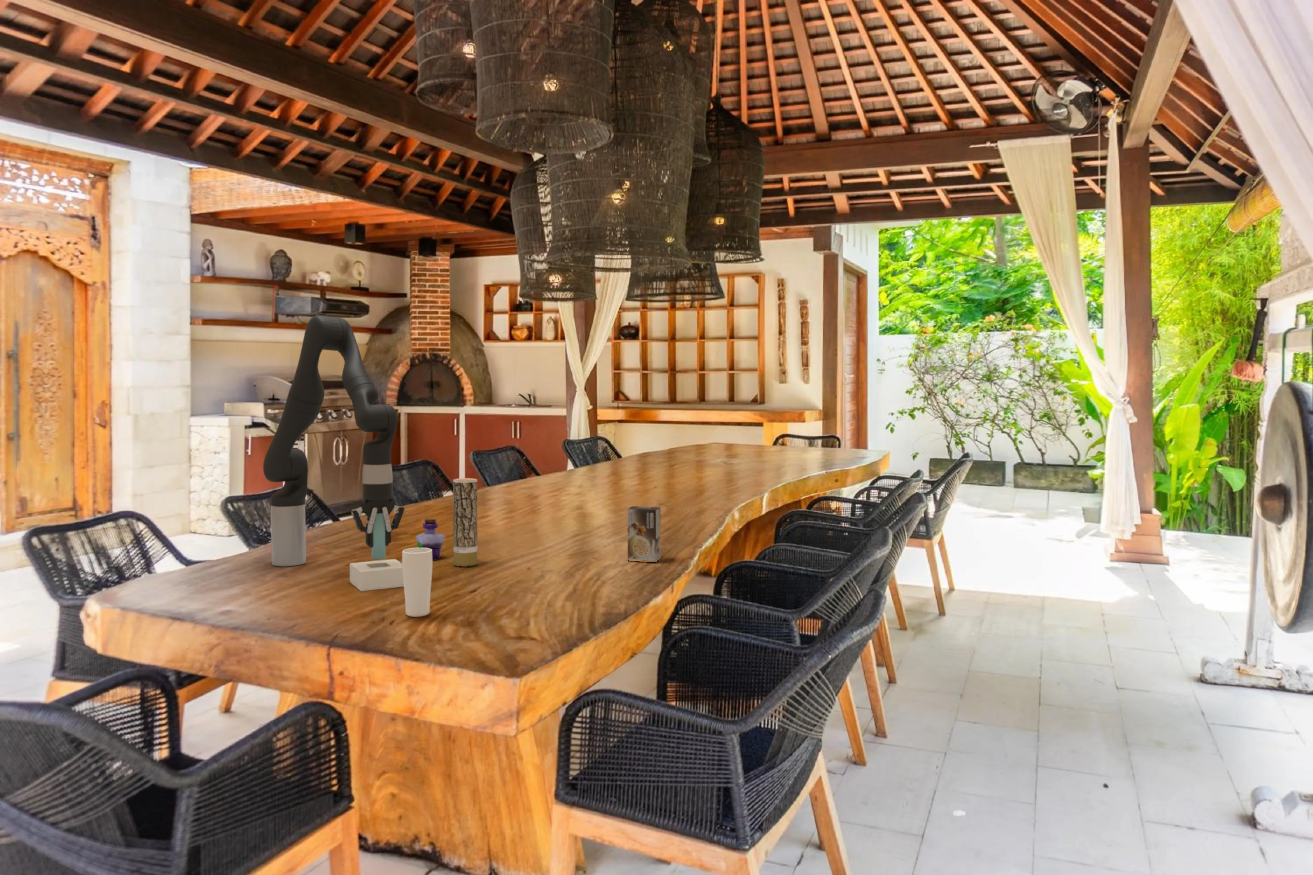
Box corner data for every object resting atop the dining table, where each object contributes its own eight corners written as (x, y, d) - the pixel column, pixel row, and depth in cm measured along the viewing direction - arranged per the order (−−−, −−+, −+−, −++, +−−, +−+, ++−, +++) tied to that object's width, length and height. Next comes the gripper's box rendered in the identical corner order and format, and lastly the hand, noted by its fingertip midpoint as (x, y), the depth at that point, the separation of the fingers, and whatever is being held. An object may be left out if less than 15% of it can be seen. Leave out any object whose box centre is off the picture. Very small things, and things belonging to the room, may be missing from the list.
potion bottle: (409, 559, 271) (409, 519, 270) (427, 554, 279) (427, 515, 278) (433, 562, 268) (433, 522, 267) (451, 557, 276) (450, 517, 275)
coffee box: (661, 559, 276) (662, 506, 274) (656, 563, 269) (656, 509, 268) (632, 557, 278) (632, 505, 277) (626, 561, 271) (626, 508, 270)
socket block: (349, 581, 242) (349, 563, 241) (395, 577, 248) (395, 558, 247) (360, 591, 231) (360, 571, 231) (407, 585, 238) (407, 567, 237)
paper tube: (471, 568, 260) (471, 481, 259) (449, 566, 262) (449, 480, 260) (481, 563, 267) (480, 478, 265) (459, 562, 268) (459, 477, 267)
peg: (369, 557, 240) (369, 512, 239) (383, 556, 242) (383, 511, 241) (373, 559, 237) (372, 514, 236) (387, 558, 238) (386, 513, 238)
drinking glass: (405, 610, 213) (404, 547, 212) (434, 610, 213) (434, 547, 212) (399, 618, 206) (399, 553, 205) (430, 618, 207) (429, 552, 206)
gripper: (400, 478, 245) (401, 541, 246) (346, 481, 237) (347, 546, 238) (408, 481, 238) (409, 546, 239) (353, 484, 231) (354, 551, 232)
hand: (378, 545), depth 239 cm, fingers closed on peg, 3 cm apart
